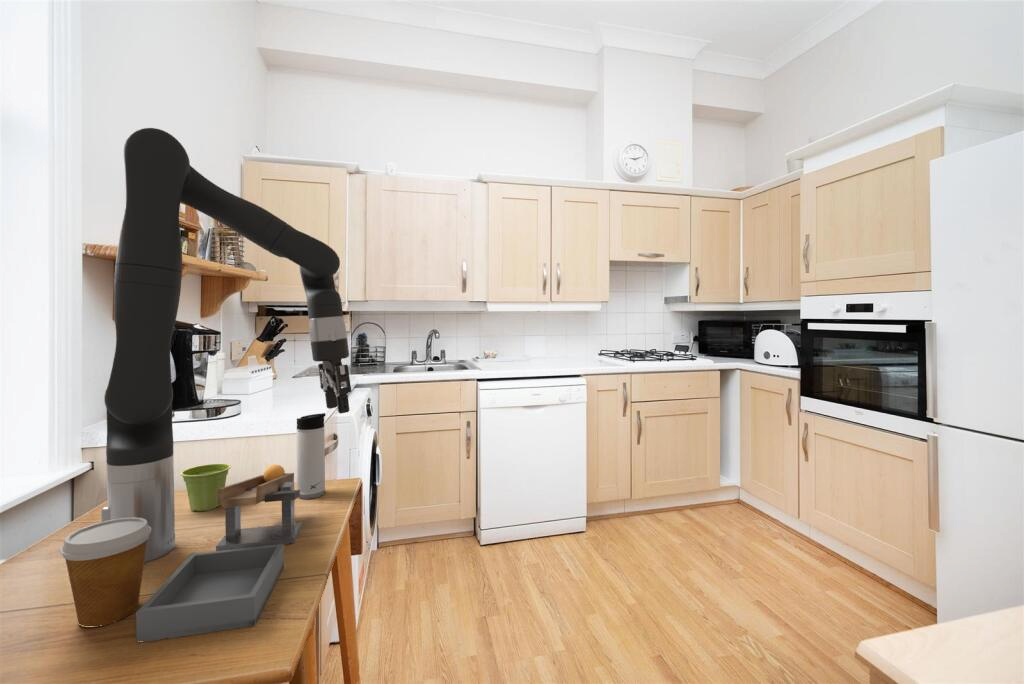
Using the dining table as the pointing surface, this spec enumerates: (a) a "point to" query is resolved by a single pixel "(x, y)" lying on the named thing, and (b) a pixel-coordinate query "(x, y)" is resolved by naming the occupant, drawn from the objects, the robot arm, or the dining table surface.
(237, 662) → the dining table surface
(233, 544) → the stand
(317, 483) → the travel mug
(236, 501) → the lever
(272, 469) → the ball
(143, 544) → the disposable coffee cup
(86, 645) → the dining table surface
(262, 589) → the bin
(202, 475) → the plant pot
